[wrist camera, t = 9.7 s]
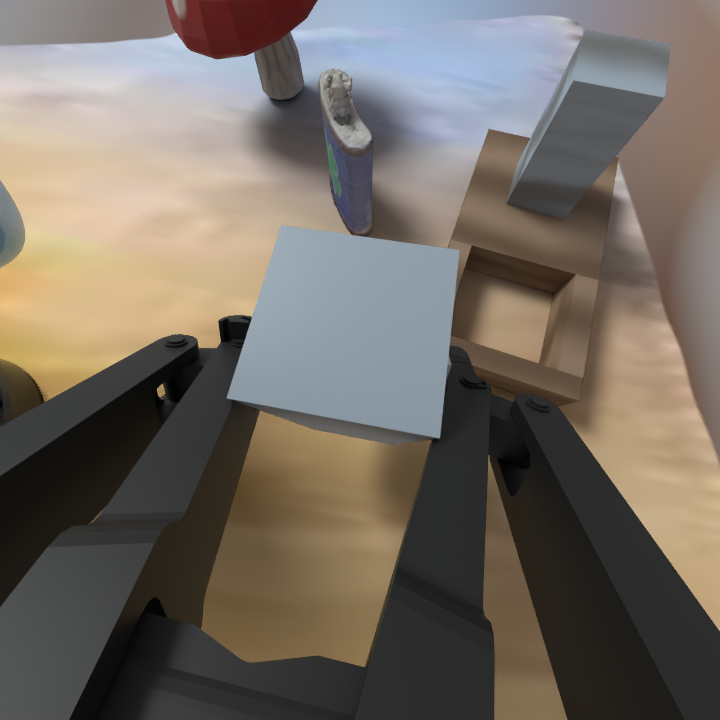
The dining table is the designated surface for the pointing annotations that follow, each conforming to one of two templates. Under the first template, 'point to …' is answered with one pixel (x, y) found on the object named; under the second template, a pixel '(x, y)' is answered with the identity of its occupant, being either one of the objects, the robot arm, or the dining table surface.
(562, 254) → the block insertion board
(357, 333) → the gray rectangular block
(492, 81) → the dining table surface
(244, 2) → the decorative mushroom
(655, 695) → the robot arm
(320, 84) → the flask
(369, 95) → the dining table surface
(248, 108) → the dining table surface
